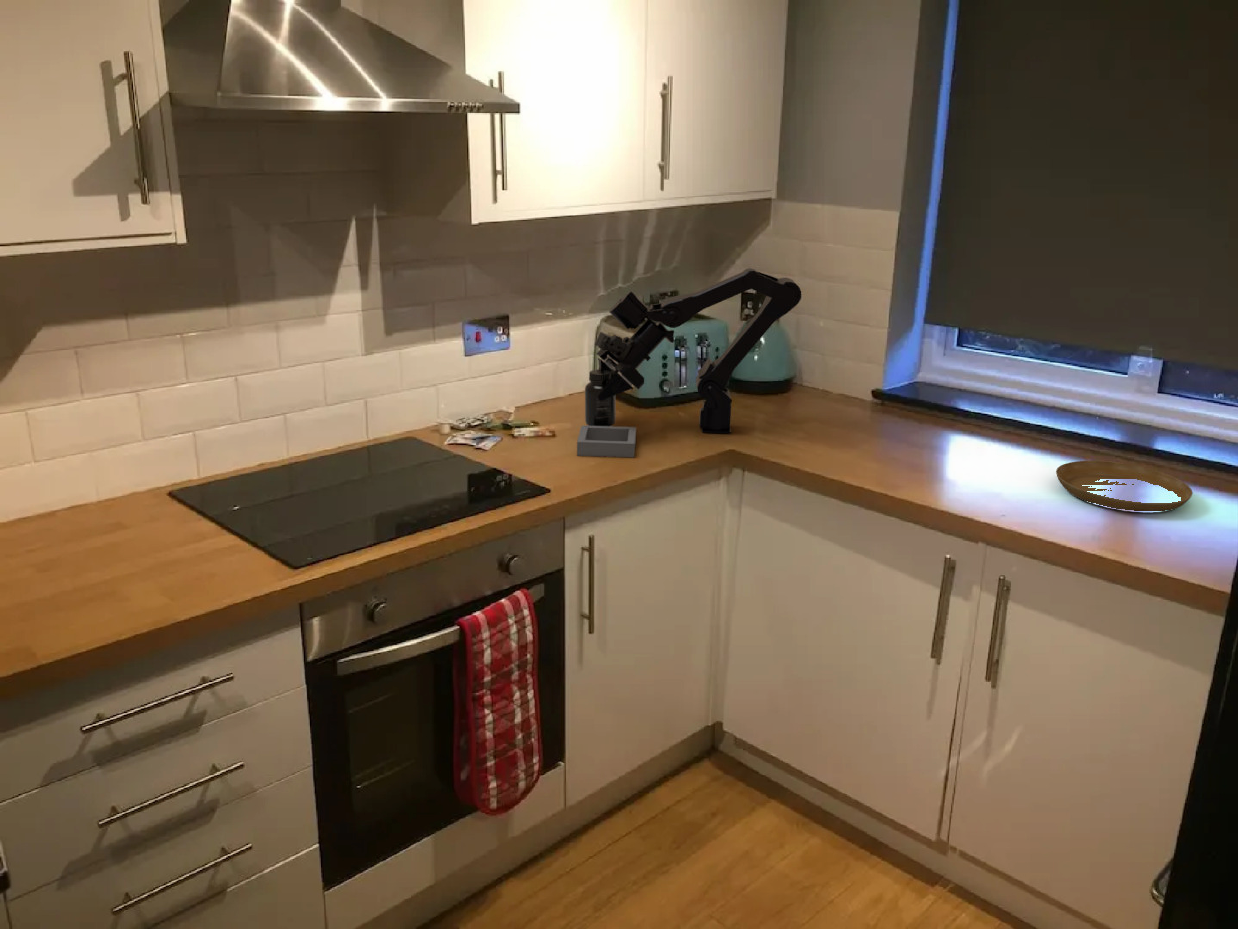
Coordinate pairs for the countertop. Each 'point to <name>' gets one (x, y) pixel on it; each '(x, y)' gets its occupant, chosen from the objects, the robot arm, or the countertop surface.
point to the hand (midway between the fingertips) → (594, 395)
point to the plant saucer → (1092, 471)
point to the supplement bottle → (594, 408)
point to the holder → (606, 441)
